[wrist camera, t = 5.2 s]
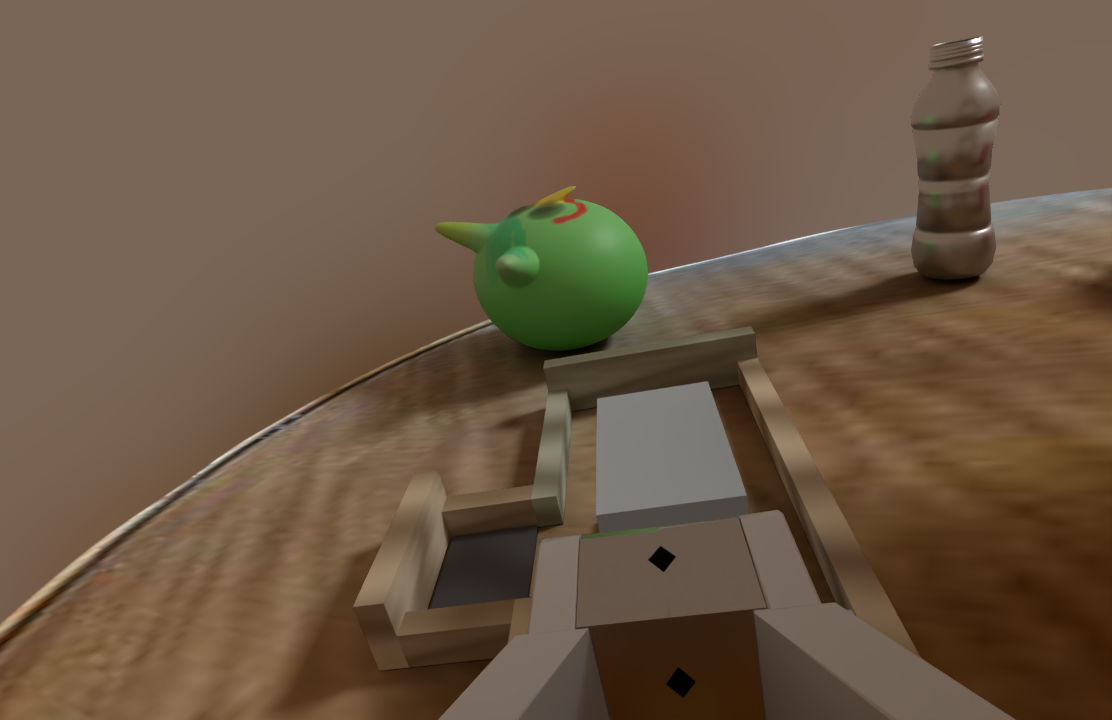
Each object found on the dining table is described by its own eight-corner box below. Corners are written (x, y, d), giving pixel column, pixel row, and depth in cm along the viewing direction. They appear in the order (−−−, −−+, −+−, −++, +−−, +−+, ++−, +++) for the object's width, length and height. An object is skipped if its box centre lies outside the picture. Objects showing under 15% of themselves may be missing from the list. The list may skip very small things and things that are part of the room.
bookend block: (876, 831, 21) (868, 594, 18) (584, 849, 23) (518, 632, 19) (756, 500, 38) (739, 341, 34) (591, 522, 39) (556, 371, 35)
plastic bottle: (965, 292, 57) (972, 42, 50) (895, 280, 63) (892, 54, 56) (1011, 270, 60) (1025, 27, 52) (939, 261, 66) (942, 40, 58)
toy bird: (692, 332, 62) (670, 173, 57) (537, 401, 55) (495, 228, 50) (589, 300, 77) (564, 172, 72) (458, 351, 70) (418, 215, 65)
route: (1020, 892, 19) (1030, 802, 18) (284, 929, 22) (237, 856, 21) (755, 373, 52) (750, 326, 50) (472, 418, 55) (459, 374, 53)
